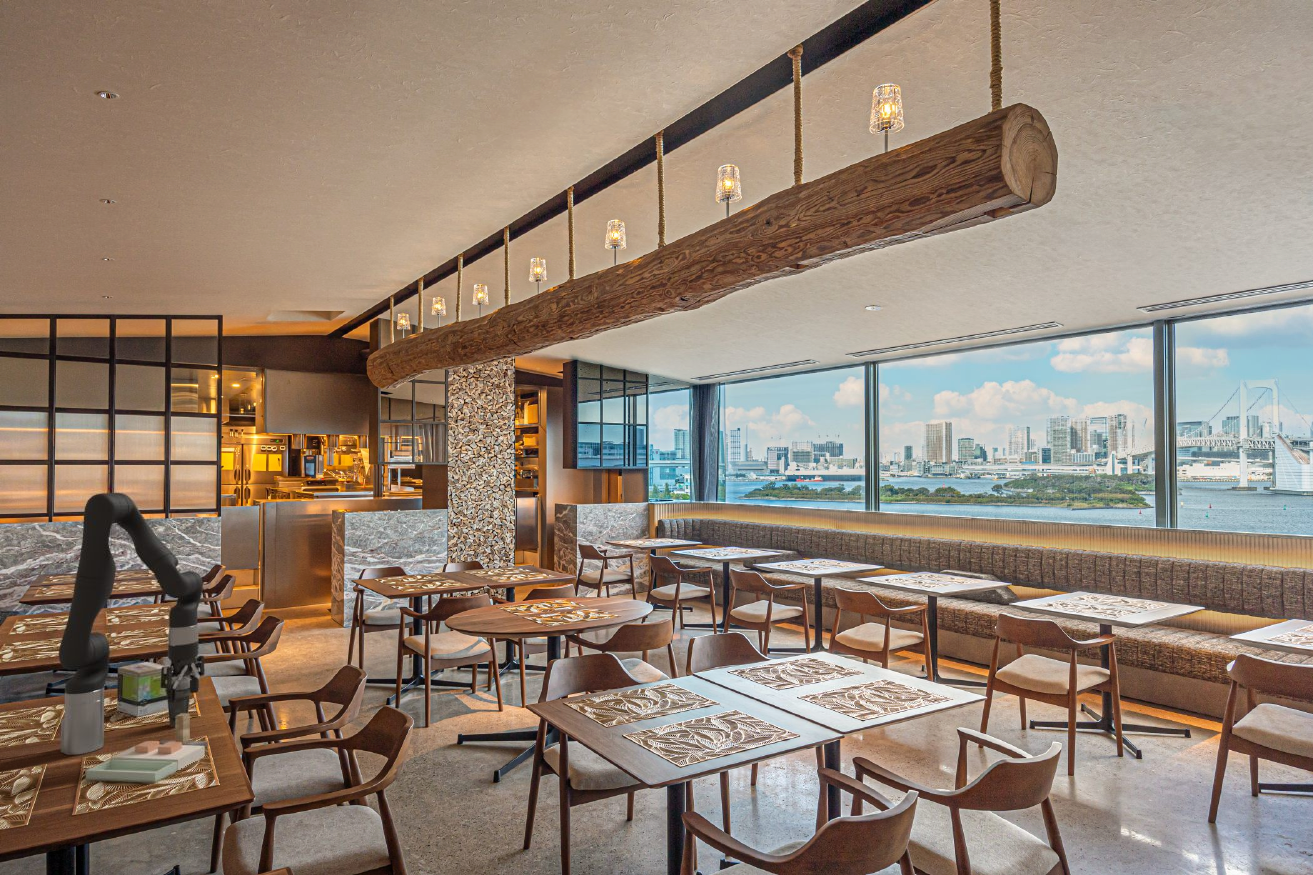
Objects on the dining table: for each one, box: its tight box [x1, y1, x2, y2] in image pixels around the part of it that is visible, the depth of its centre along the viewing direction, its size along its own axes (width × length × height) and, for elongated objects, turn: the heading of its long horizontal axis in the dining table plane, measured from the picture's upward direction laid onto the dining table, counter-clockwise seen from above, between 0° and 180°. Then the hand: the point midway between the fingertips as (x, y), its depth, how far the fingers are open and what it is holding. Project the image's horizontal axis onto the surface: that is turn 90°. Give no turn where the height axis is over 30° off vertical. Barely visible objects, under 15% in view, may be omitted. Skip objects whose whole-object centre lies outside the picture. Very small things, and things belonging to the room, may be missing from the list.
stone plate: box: [110, 744, 206, 771], centre depth 208 cm, size 20×10×3 cm, turn 83°
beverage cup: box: [165, 675, 191, 728], centre depth 240 cm, size 7×7×20 cm
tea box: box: [116, 661, 168, 718], centre depth 255 cm, size 15×10×15 cm
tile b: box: [158, 742, 182, 754], centre depth 209 cm, size 4×4×2 cm
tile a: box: [134, 740, 160, 753], centre depth 209 cm, size 4×4×2 cm
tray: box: [85, 758, 178, 784], centre depth 199 cm, size 20×8×2 cm, turn 83°
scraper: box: [159, 712, 208, 750], centre depth 219 cm, size 14×2×10 cm, turn 83°
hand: (183, 696), depth 219 cm, fingers open, 8 cm apart
